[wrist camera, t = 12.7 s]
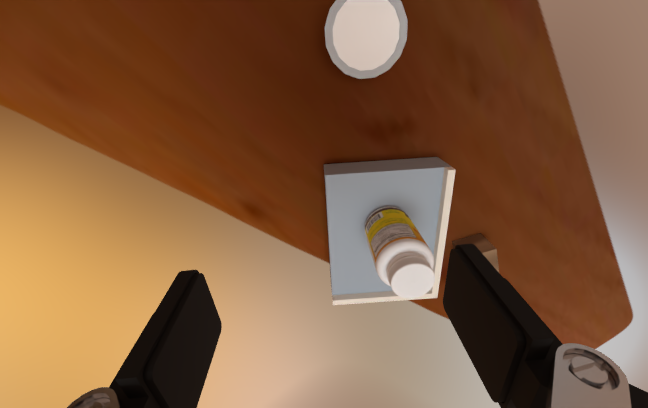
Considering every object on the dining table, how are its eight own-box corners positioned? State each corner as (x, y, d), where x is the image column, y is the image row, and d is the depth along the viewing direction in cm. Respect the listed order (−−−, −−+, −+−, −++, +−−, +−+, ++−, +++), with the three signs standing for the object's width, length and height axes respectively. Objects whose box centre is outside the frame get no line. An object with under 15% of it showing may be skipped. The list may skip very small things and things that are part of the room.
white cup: (331, 85, 31) (336, 89, 25) (313, 13, 29) (314, -3, 22) (393, 66, 31) (414, 65, 24) (381, -9, 28) (401, -32, 22)
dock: (323, 164, 35) (325, 178, 31) (437, 156, 35) (455, 169, 31) (330, 280, 43) (332, 305, 38) (424, 273, 43) (437, 297, 38)
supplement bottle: (406, 243, 36) (439, 305, 26) (362, 245, 36) (379, 307, 26) (412, 203, 33) (449, 255, 24) (364, 204, 33) (384, 257, 24)
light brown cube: (451, 241, 41) (465, 258, 37) (480, 232, 40) (496, 248, 37) (455, 262, 42) (469, 280, 39) (482, 254, 42) (498, 272, 38)
